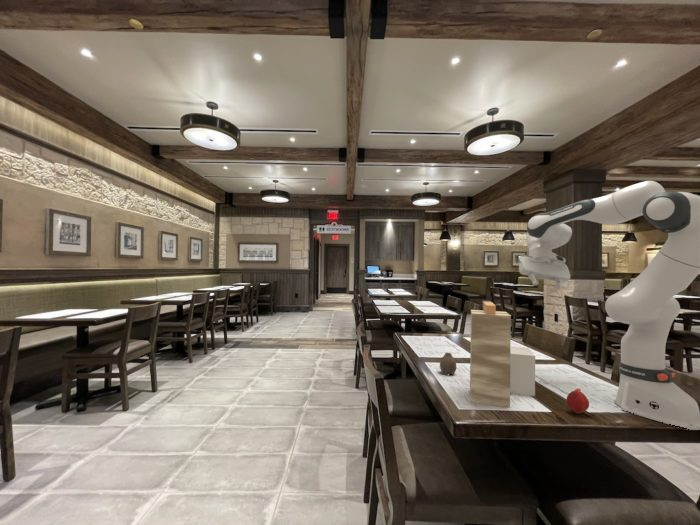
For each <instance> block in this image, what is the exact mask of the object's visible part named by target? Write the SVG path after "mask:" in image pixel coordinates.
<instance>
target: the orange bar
mask: <svg viewBox="0 0 700 525" xmlns="http://www.w3.org/2000/svg"><path fill="white" fill-rule="evenodd" d="M481 305H482V306H481V307H482V310H484V312H485V313H486V314H494V315H496V311H497V310H496V309H497V308H496V307H497V305H496V304H494V302H492V301H491V300H482V304H481Z"/></svg>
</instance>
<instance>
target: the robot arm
mask: <svg viewBox="0 0 700 525" xmlns="http://www.w3.org/2000/svg"><path fill="white" fill-rule="evenodd" d="M641 216H643V218H644V219H645V220H646V221H647V222H649V224H651V225H653V226H654V227H656V229H658V231H660V232H661V233H663V234H668V236H667V239H666V240H665V242H664V243H663V245H662V247H661V248H660V249H659V250H658V252H657V253H656V254H655V256H654V257H653V258H652V260H650V262H649V263H648V265H647V266H646V267H645V268H644V270H642V272H641V273H640V274H639V275H637V276H636V277H635V278H634V279H633V280H632V281H630V282H629V283H628V284H627V285H626V286H624V287H623V288H622V289H620V290H619V291H617V292H616V293H614V294H611V295H610V296H609V297H608V298H607V299H606V301H605V305H604V309H605V311H606V313H607V316H608V317H609V318H611V320H613V321H615V322H618V323H621V324H625V325H629V326H628V329H627V330H626V332H625V334H624V335H623V336H622V337H621V339H620V361H619V362H618V375H619V383H618V384H619V385H618V389H617V393H616V397H615V399H614V403H615V404H616V405H617V406H618V407H620V409H621V410H622V411H623V410H624V411H623V412H626V411H628V412H627V413H629V412H631V413H630V414H633V413H634V414H633V415H636V416H640V417H643V418H647V419H649V420H653V421H657V422H659V423H662V422H663V424H666V425H669V424H671V425H670V426H672V425H675V426H680V427H684V428H687V429H686V430H688V429H689V431H699V430H700V407H699V404H698V401H696V400H695V399H694V398H693V397H692V396H690V395H689V394H688V393H687V392H685V390H683V389H682V388H680V387H679V386H678V385H677V384H676V383H674V382H673V378H674V377H675V376H676V372H670V371H669V370H668V369H667V368H666V346H667V345H666V343H667V340H668V336H669V332H670V330H671V327H672V325H673V322H674V320H675V319H676V318H677V317H678V316H679V314H680V312H681V306H680V305H681V304H680V302H679V301H678V300H677V299H676V298H675V297H674V296H676V295H677V294H679V293H681V292H684V291H685V290H686V289H687V288H688V287H689V286H690V285H691V283H692V282H693V281H694V280H695V279H696V277H698V276H699V274H700V194H693V193H691V192H687V191H671V190H670V191H666V190H665V188H664V187H663V185H661V184H660V183H658V182H657V181H654V180H645V181H641V182H638V183H635V184H631V185H629V186H625V187H623V188H621V189H618V190H616V191H614V192H611V193H608V194H606V195H603V196H598V197H594V198H590V199H583V200H579V201H576V202H573V203H570V204H567V205H565V206H562V207H559V208H556V209H554V210H551V211H548V212H540V213H536V214H535V215H533V216H532V217H531V218H530V219H529V220H528V221H527V223H526V230H527V232H526V245H527V246H526V247H527V249H528V255H525V254H521V255H519V256H518V258H517V259H518V262H519V263H518V271H519V274H520V275H523V276H528V278H529V280H530V281H531V282H532V285H534V286H537V285H539V279H543V280H548V281H553V282H555V283H556V284H555V285H554V290H558V291H560V290H561V289H562V284H565V283H567V282H568V281H569V280H570V279H571V273H570V270H569V268H568V267H569V266H567V264H566V261H567V260H566V258H565V257H562V256H560V255H558V254H556V252H553V250H555V249H558V248H561V247H563V246H565V245H567V244H568V243H570V241H571V239H572V237H573V229H572V227H571V226H569V225H568V224H565V223H568V222H573V221H579V220H580V221H588V222H593V223H597V224H601V225H605V226H606V225H607V226H611V225H618V224H622V223H626V222H628V221H631V220H633V219H637V218H639V217H641ZM537 278H538V279H537ZM675 426H674V427H675Z"/></svg>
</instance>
